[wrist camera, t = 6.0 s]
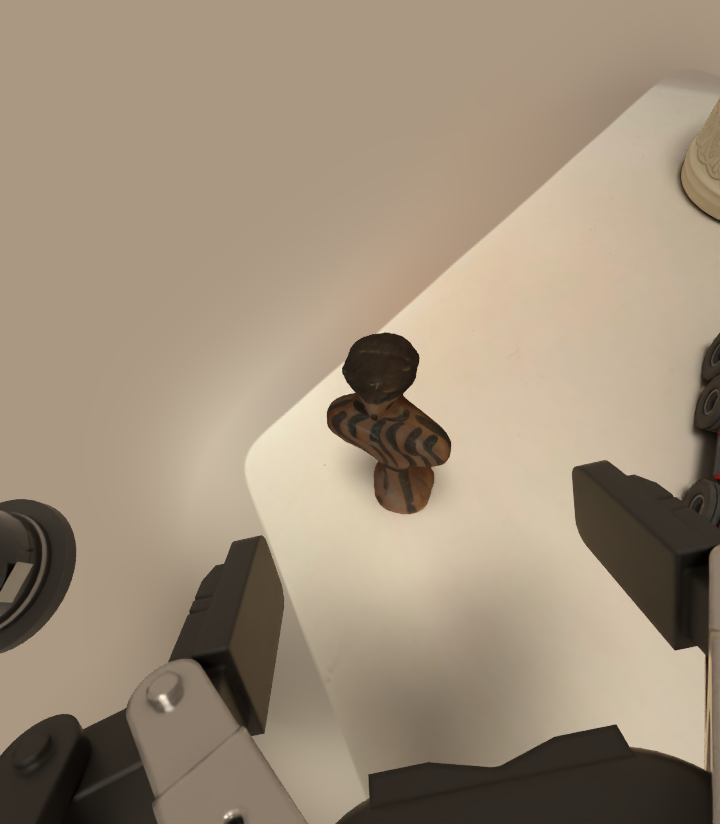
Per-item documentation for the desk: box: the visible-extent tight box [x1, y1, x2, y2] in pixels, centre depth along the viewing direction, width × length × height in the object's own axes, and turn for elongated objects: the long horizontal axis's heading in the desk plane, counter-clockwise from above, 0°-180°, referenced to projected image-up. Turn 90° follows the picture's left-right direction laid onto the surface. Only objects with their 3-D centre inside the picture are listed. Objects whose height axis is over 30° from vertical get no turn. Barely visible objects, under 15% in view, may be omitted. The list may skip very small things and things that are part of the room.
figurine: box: [327, 333, 451, 514], centre depth 27 cm, size 7×5×18 cm
